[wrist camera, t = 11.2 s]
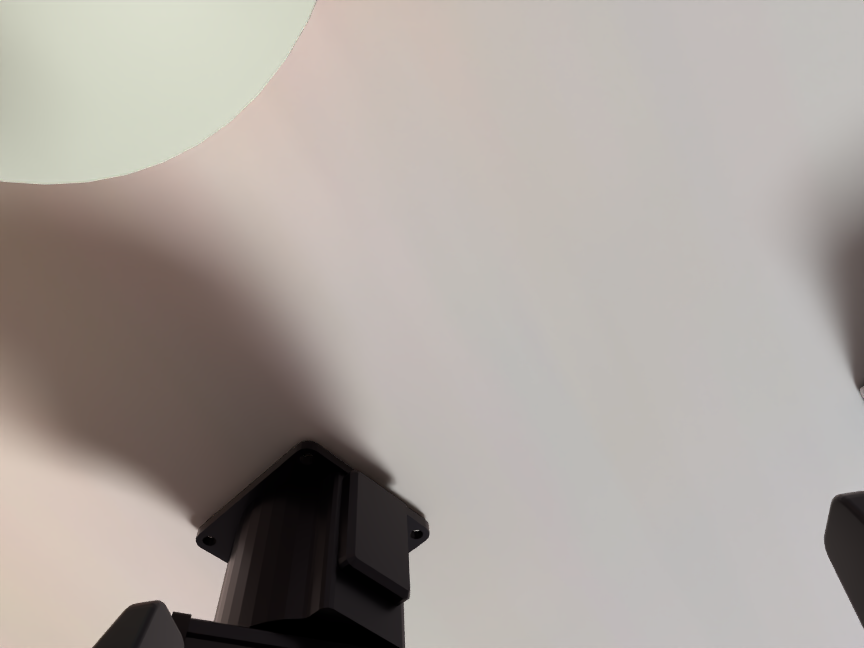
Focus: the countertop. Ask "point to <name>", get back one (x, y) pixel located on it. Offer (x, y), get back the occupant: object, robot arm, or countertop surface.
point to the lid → (129, 79)
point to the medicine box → (862, 391)
